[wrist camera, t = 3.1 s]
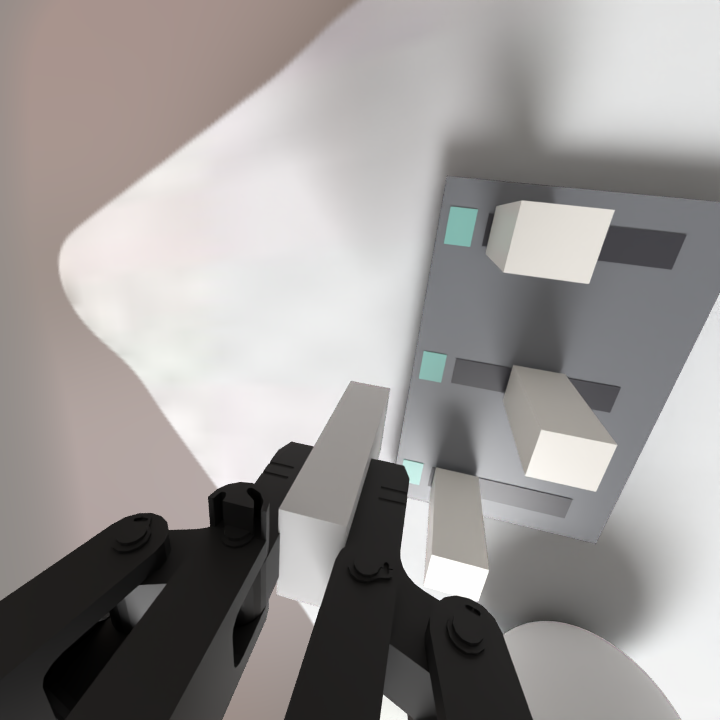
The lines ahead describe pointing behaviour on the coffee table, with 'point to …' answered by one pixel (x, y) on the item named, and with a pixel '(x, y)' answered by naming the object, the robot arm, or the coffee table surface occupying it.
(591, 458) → the breaker
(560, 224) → the breaker
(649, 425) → the board
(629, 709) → the decorative ball
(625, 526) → the coffee table surface
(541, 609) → the coffee table surface
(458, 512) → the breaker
